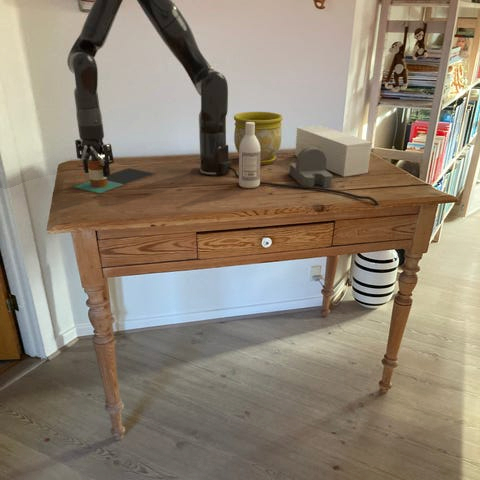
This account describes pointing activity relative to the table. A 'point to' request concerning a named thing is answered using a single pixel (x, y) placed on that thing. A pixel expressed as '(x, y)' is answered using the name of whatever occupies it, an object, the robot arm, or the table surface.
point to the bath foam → (249, 158)
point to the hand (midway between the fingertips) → (97, 174)
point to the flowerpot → (261, 132)
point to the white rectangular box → (336, 149)
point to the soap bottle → (96, 173)
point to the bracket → (311, 168)
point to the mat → (115, 180)
